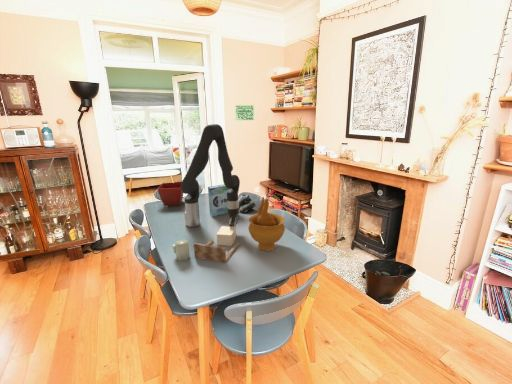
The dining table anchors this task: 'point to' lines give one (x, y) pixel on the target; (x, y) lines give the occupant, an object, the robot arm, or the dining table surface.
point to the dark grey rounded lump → (245, 203)
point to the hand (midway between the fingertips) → (233, 231)
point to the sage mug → (181, 250)
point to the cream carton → (226, 235)
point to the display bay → (212, 252)
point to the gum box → (218, 199)
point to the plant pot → (171, 193)
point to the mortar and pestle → (266, 227)
